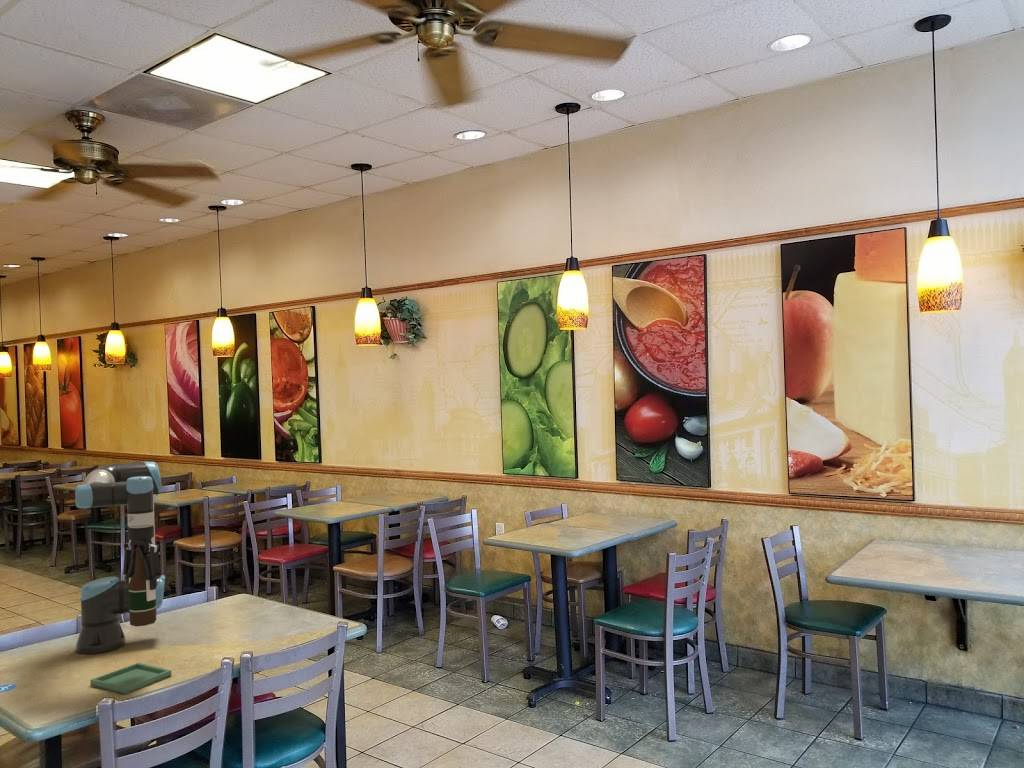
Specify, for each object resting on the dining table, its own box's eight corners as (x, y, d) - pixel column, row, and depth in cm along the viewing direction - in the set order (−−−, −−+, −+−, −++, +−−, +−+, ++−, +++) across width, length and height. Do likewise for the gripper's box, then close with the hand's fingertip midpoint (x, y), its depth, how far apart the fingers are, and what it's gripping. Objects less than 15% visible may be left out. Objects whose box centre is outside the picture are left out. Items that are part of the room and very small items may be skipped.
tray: (90, 685, 235) (90, 679, 235) (138, 668, 249) (138, 662, 249) (124, 694, 228) (124, 688, 228) (171, 676, 242) (171, 670, 242)
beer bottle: (146, 627, 240) (144, 549, 240) (124, 626, 241) (121, 549, 242) (162, 619, 247) (160, 544, 248) (140, 619, 249) (138, 544, 249)
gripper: (108, 526, 246) (110, 598, 246) (152, 529, 237) (153, 604, 236) (130, 522, 253) (131, 593, 252) (172, 525, 243) (174, 598, 243)
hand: (142, 598), depth 244 cm, fingers closed on beer bottle, 7 cm apart
